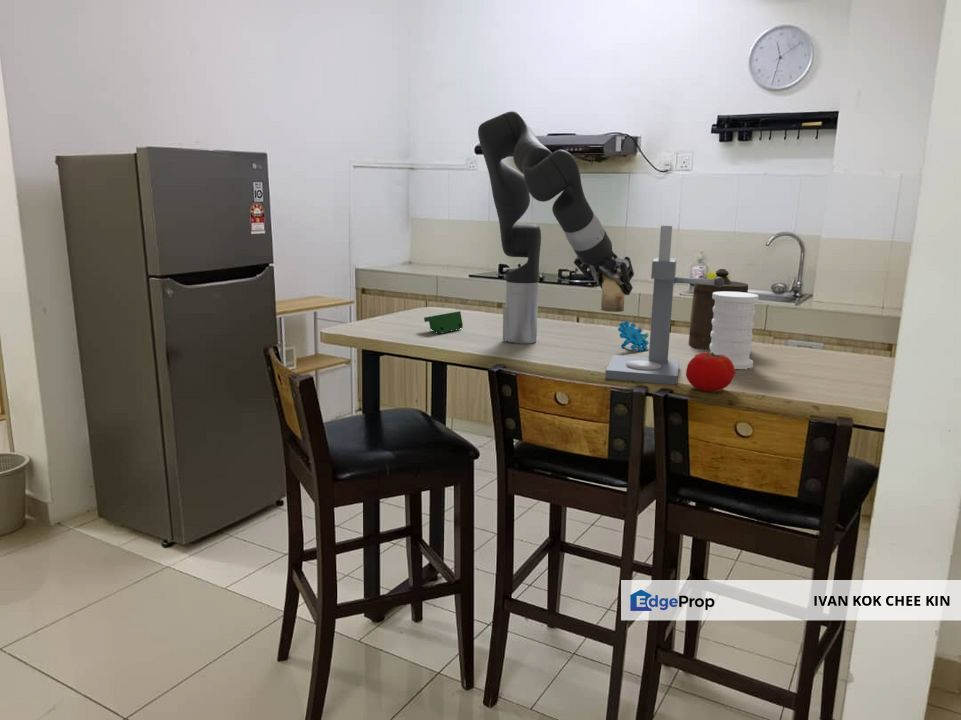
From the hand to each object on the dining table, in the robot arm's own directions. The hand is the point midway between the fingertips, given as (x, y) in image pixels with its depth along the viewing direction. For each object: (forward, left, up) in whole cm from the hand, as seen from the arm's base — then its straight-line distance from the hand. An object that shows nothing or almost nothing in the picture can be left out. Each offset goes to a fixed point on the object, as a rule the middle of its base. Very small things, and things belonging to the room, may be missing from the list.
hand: (618, 290), depth 161 cm
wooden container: (+23, +52, -21) cm, 61 cm away
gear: (+1, +39, -21) cm, 45 cm away
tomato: (+21, 0, -21) cm, 30 cm away
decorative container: (+26, +28, -21) cm, 44 cm away
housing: (-1, -2, -4) cm, 5 cm away
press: (+10, +11, -21) cm, 26 cm away
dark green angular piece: (-57, +45, -21) cm, 76 cm away
